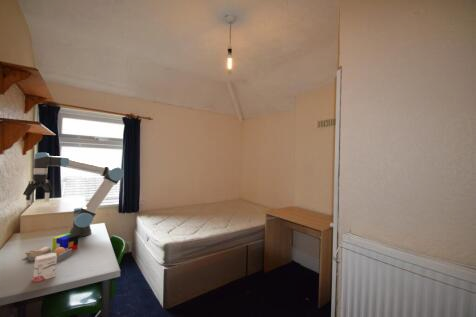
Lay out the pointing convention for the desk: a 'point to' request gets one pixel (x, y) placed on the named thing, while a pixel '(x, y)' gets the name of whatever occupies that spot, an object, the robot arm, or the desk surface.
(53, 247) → the puzzle toy
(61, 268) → the desk surface
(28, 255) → the tee
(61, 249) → the ball
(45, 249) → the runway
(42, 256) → the ink box
